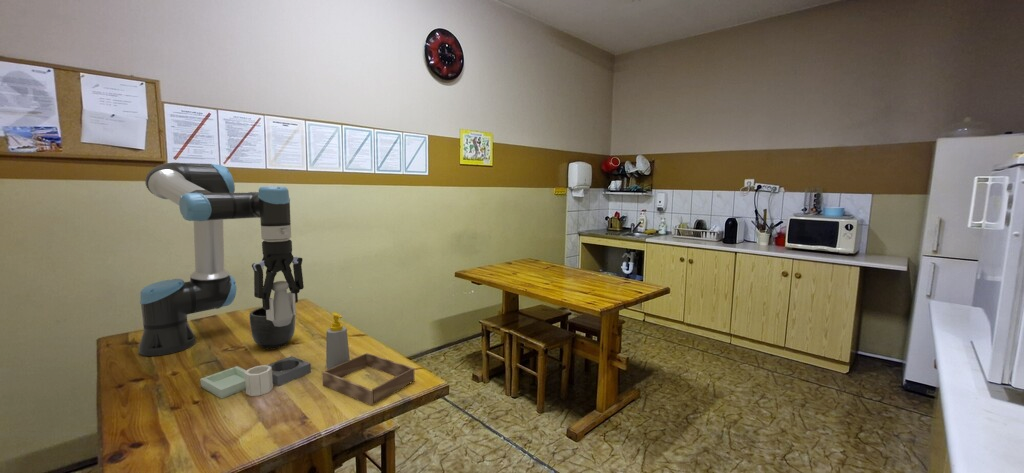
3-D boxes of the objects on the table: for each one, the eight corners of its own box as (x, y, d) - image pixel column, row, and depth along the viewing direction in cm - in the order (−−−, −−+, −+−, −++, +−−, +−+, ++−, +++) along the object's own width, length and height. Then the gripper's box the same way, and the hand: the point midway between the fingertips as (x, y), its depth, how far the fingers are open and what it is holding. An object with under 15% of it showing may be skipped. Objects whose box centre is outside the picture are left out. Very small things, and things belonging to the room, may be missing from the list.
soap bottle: (332, 376, 121) (329, 319, 119) (322, 369, 126) (319, 313, 123) (354, 368, 126) (352, 313, 124) (344, 362, 131) (341, 309, 128)
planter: (300, 336, 153) (298, 303, 151) (292, 350, 140) (290, 314, 138) (258, 340, 148) (255, 306, 147) (246, 355, 135) (243, 318, 134)
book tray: (322, 385, 116) (322, 371, 115) (367, 364, 129) (367, 352, 128) (371, 405, 105) (371, 391, 105) (414, 381, 118) (414, 368, 118)
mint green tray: (201, 387, 114) (200, 378, 114) (237, 373, 122) (237, 366, 122) (221, 398, 108) (220, 390, 107) (258, 384, 116) (258, 375, 116)
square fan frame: (259, 377, 120) (258, 367, 119) (292, 364, 128) (291, 355, 128) (278, 386, 115) (277, 375, 114) (311, 372, 123) (310, 362, 123)
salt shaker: (283, 328, 116) (280, 284, 114) (266, 326, 117) (263, 283, 116) (297, 321, 122) (295, 280, 120) (281, 320, 123) (278, 279, 121)
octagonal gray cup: (242, 392, 111) (241, 371, 111) (265, 383, 116) (263, 363, 116) (254, 398, 108) (252, 377, 107) (276, 388, 113) (275, 368, 113)
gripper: (248, 244, 106) (254, 328, 109) (314, 237, 122) (318, 310, 125) (234, 242, 110) (240, 323, 113) (300, 235, 126) (304, 306, 129)
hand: (281, 316), depth 119 cm, fingers closed on salt shaker, 6 cm apart
